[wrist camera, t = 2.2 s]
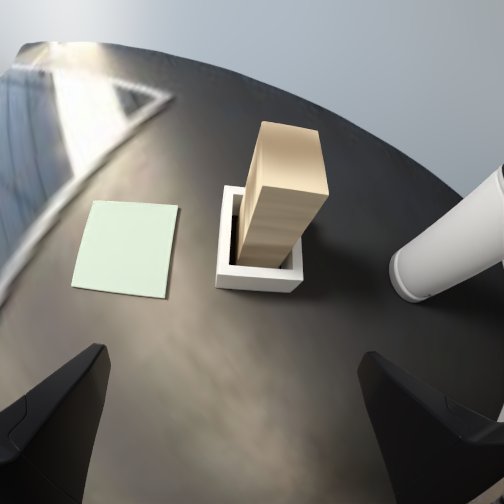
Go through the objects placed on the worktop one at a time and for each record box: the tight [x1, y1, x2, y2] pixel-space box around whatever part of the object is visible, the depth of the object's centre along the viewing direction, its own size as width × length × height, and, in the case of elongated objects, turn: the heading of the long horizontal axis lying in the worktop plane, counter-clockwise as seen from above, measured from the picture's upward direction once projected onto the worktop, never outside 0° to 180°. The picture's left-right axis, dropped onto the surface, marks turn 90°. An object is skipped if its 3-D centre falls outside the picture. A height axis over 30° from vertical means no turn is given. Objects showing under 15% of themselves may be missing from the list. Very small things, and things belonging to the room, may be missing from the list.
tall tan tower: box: [235, 121, 329, 269], centre depth 20 cm, size 5×4×12 cm
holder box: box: [215, 186, 303, 293], centre depth 24 cm, size 8×7×4 cm
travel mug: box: [389, 164, 504, 303], centre depth 19 cm, size 6×7×20 cm
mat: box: [71, 200, 178, 299], centre depth 24 cm, size 9×9×1 cm
